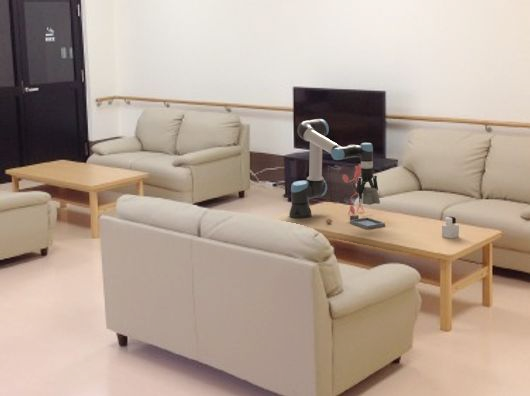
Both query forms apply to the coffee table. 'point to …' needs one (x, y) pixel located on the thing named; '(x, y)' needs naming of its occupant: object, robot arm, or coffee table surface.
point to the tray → (367, 223)
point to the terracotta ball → (328, 220)
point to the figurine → (356, 174)
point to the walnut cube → (354, 217)
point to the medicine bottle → (450, 228)
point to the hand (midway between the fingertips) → (367, 202)
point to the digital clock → (370, 196)
